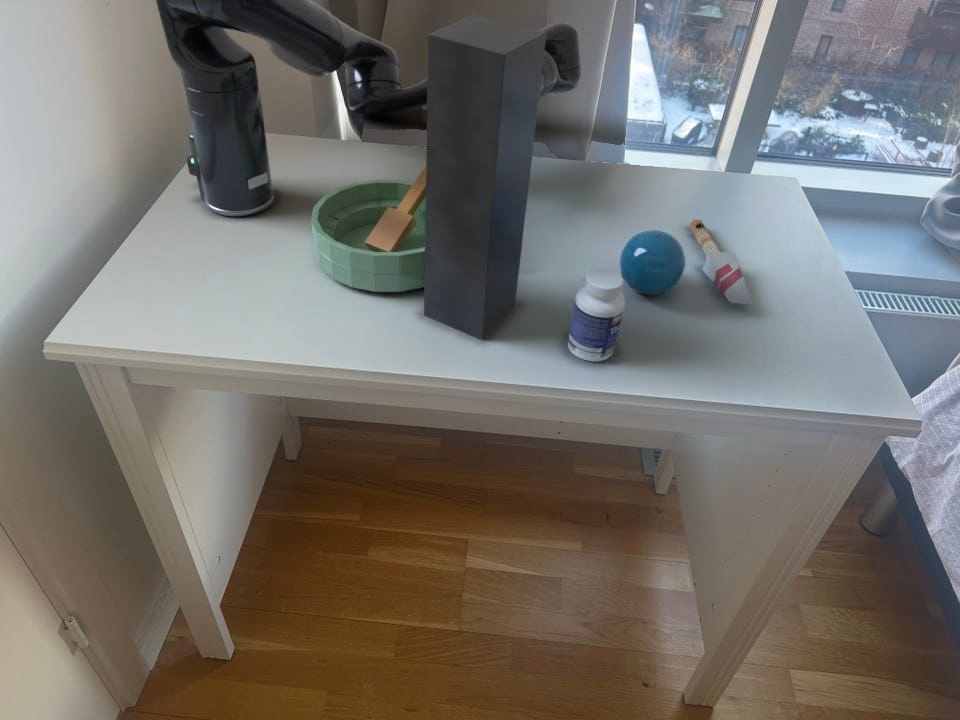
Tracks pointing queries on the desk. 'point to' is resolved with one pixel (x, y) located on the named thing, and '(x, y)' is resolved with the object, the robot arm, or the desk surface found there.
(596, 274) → the pill bottle
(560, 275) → the desk surface
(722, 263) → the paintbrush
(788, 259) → the desk surface
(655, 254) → the ball
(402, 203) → the wooden spatula
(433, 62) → the pedestal
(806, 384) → the desk surface
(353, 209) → the bowl
